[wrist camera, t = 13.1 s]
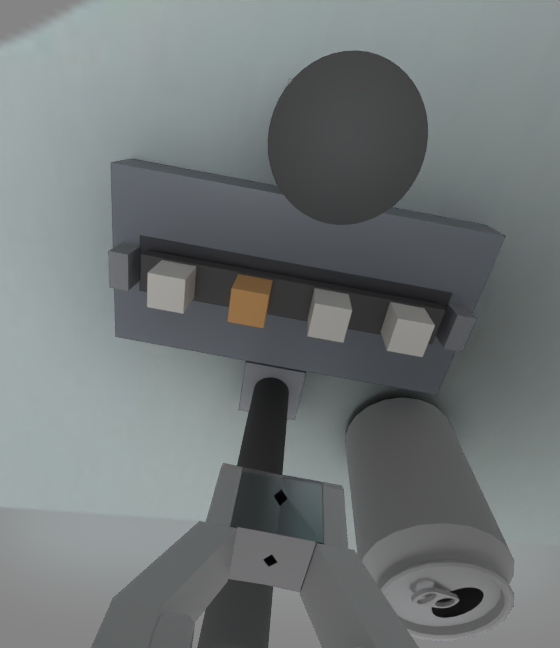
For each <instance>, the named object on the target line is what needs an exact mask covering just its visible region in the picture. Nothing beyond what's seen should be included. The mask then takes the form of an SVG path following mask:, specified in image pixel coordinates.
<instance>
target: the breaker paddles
mask: <svg viewBox="0 0 560 648" xmlns="http://www.w3.org/2000/svg"><path fill="white" fill-rule="evenodd" d="M141 290H144V291H147V307H149V308H155V309H160V310H166V311H171V312H177V313H182V314H183V313H184V312H185V310H186V309H187V308H188V306H189V305H190V303H191V302H192V300H199V301H204V302H210V303H215V304H221V305H226V306H229V313H228V321H227V322H232V323H237V324H243V325H248V326H254V327H259V328H264V324H265V320H266V315H267V313H270V314H276V315H281V316H286V317H292V318H297V319H303V320H308V330H307V336H309V337H314V338H320V339H325V340H331V341H336V342H342V343H343V342H344V338H345V335H346V331H347V328H352V329H358V330H363V331H369V332H374V333H380V334H381V335H382V338H383V341H384V344H385V347H386V350H387V351H391V352H396V353H402V354H407V355H413V356H418V357H423V355H424V352H425V350H426V347H427V345H428V342H429V343H433V340H434V338H435V335H436V333H437V330H438V328H439V325H440V323H441V320H442V318H443V315H444V313H445V309H444V307H443V306H442V305H441V304H438V303H433V302H427V301H422V300H416V299H411V298H406V297H400V296H395V295H389V294H384V293H378V292H373V291H367V290H362V289H357V288H351V287H346V286H340V285H335V284H329V283H324V282H319V281H313V280H308V279H302V278H297V277H291V276H286V275H281V274H275V273H270V272H264V271H259V270H253V269H248V268H242V267H237V266H232V265H226V264H221V263H215V262H210V261H204V260H199V259H194V258H188V257H183V256H177V255H172V254H166V253H161V252H155V251H150V250H146V251H144V252H143V253H142V254H141Z"/></svg>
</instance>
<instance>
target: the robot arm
mask: <svg viewBox="0 0 560 648" xmlns="http://www.w3.org/2000/svg"><path fill="white" fill-rule="evenodd" d="M228 579H232V580H238V581H245V582H251V583H258V584H264V585H268V586H273V587H278V588H283V589H287V590H292V591H296V592H300V596H301V598H302V601H303V603H304V605H305V608H306V610H307V613H308V615H309V618H310V620H311V622H312V625H313V627H314V629H315V632H316V634H317V636H318V639H319V641H320V644H321V646H322V648H419V647H418V646H417V644H416V643H415V641H414V640H413V638H412V637H411V635H410V634H409V632H408V630H407V629H406V627H405V626H404V624H403V623H402V621H401V620H400V618H399V617H398V615H397V614H396V612H395V611H394V609H393V608H392V606H391V605H390V603H389V602H388V600H387V599H386V597H385V596H384V594H383V593H382V591H381V590H380V588H379V587H378V585H377V584H376V582H375V581H374V579H373V578H372V576H371V575H370V573H369V572H368V570H367V568H366V567H365V565H364V564H363V562H362V561H361V559H360V558H359V556H358V555H357V553H356V552H355V550H351V549H348V541H347V527H346V514H345V501H344V489H343V487H342V486H341V485H336V484H330V483H325V482H321V481H315V480H309V479H304V478H298V477H292V476H286V475H278V474H274V473H269V472H264V471H260V470H255V469H250V468H246V467H244V468H243V467H240V466H235V465H230V464H226V463H223V465H222V467H221V470H220V473H219V477H218V480H217V484H216V487H215V491H214V494H213V498H212V501H211V505H210V509H209V512H208V516H207V519H206V522H202V521H199V522H198V523H197V524H196V525H195V526H193V527H192V528H191V529H190V530H189V531H188V532H187V533H186V534H184V535H183V536H182V537H181V538H180V539H179V540H178V541H177V542H175V543H174V544H173V545H172V546H171V547H170V548H169V549H168V550H166V551H165V552H164V553H163V554H162V555H161V556H160V557H158V558H157V559H156V560H155V561H154V562H153V563H152V564H151V565H149V566H148V567H147V568H146V569H145V570H144V571H143V572H142V573H140V574H139V575H138V576H137V577H136V578H135V579H134V580H133V581H131V582H130V583H129V584H128V585H127V586H126V587H125V588H124V589H122V590H121V591H120V592H119V593H118V594H117V595H116V596H115V597H113V599H112V601H111V603H110V606H109V608H108V610H107V613H106V615H105V617H104V619H103V622H102V624H101V626H100V628H99V631H98V633H97V635H96V638H95V640H94V642H93V644H92V647H91V648H192V642H193V635H194V627H195V622H196V620H197V619H198V618H199V617H200V615H201V614H202V613H203V612H204V610H205V609H206V608H207V607H208V605H209V604H210V603H211V602H212V600H213V599H214V598H215V597H216V595H217V594H218V593H219V592H220V590H221V589H222V588H223V587H224V585H225V584H226V583H227V582H228Z"/></svg>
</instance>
